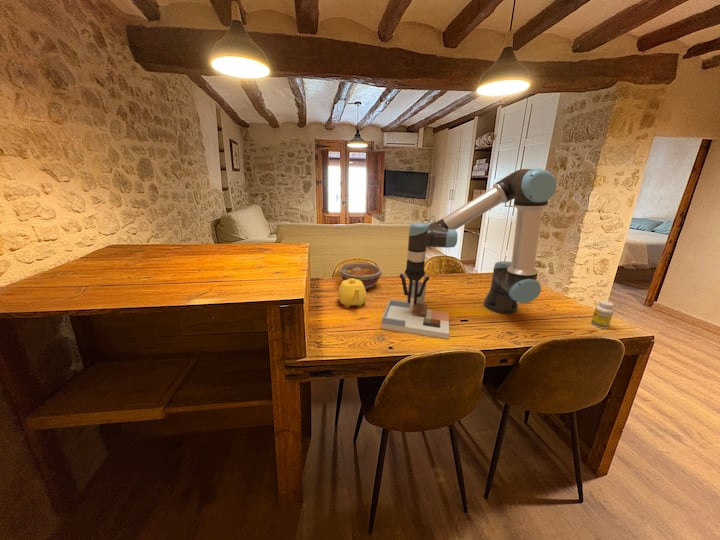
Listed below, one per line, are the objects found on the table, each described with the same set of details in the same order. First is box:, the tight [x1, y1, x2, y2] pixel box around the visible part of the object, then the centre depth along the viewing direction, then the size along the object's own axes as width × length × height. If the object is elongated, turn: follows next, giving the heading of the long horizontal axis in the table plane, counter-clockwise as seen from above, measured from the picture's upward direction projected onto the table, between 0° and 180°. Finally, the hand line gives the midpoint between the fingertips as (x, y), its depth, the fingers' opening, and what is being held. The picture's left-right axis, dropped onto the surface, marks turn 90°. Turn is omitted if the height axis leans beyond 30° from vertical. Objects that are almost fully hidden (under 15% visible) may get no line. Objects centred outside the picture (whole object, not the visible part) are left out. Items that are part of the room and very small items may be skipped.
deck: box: [381, 299, 450, 340], centre depth 129 cm, size 27×19×5 cm
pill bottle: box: [590, 300, 614, 329], centre depth 131 cm, size 6×6×11 cm
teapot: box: [337, 278, 368, 309], centre depth 144 cm, size 14×20×13 cm
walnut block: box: [412, 303, 428, 318], centre depth 132 cm, size 6×6×4 cm
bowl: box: [339, 262, 382, 290], centre depth 168 cm, size 23×23×10 cm
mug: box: [406, 281, 427, 304], centre depth 147 cm, size 12×8×11 cm
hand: (411, 309), depth 135 cm, fingers closed
